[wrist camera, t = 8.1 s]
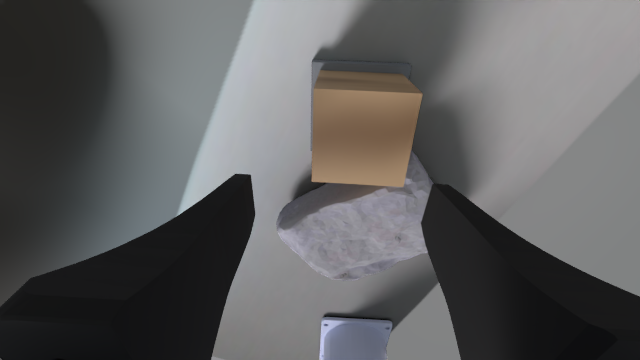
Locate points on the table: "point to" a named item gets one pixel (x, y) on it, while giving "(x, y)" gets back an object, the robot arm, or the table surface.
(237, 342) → the table surface
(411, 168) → the stone block
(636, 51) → the table surface
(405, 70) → the charcoal pad
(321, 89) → the tan cube
